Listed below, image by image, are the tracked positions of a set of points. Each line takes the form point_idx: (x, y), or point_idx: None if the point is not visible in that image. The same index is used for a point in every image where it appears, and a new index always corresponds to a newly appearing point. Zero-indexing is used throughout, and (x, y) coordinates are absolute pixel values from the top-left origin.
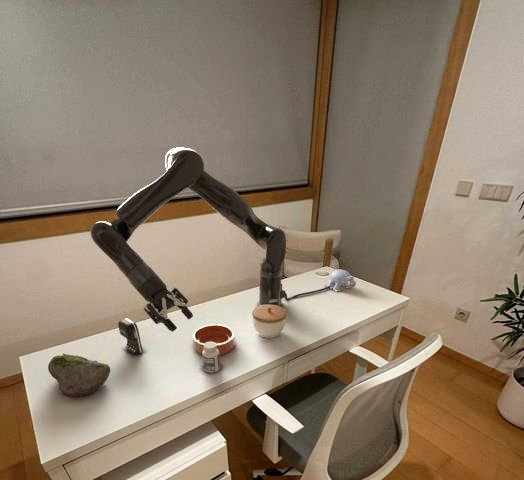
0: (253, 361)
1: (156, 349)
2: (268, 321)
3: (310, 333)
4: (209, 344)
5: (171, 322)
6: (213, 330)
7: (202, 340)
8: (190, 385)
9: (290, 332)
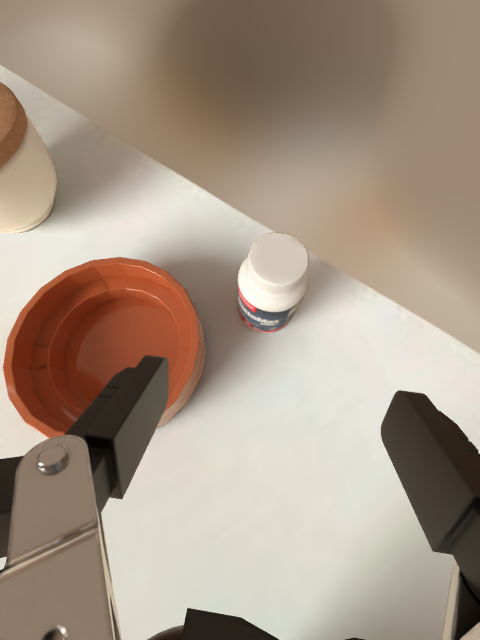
0: (195, 209)
1: None
2: (22, 118)
3: None
4: (275, 261)
5: (451, 441)
6: (37, 378)
7: None
8: (374, 336)
9: None
